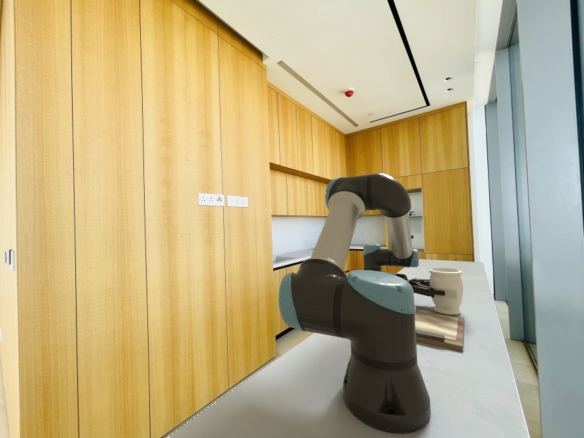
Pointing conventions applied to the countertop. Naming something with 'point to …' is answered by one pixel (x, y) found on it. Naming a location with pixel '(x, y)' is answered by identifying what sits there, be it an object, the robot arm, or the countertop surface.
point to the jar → (447, 280)
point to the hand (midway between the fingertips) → (459, 290)
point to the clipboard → (439, 329)
